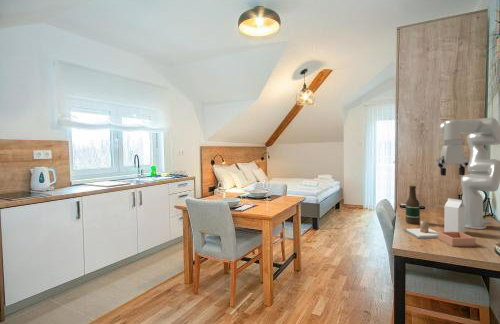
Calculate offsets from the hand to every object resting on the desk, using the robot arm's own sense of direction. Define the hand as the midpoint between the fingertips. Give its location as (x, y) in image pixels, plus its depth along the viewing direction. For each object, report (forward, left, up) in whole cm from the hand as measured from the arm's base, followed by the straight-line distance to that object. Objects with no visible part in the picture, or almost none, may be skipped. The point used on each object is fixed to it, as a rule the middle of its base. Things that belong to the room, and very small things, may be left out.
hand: (452, 175), depth 149 cm
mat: (+12, -5, -33) cm, 36 cm away
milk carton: (-6, -7, -34) cm, 35 cm away
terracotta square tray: (+5, +10, -33) cm, 35 cm away
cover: (+12, -5, -33) cm, 35 cm away
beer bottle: (+6, -28, -34) cm, 44 cm away
